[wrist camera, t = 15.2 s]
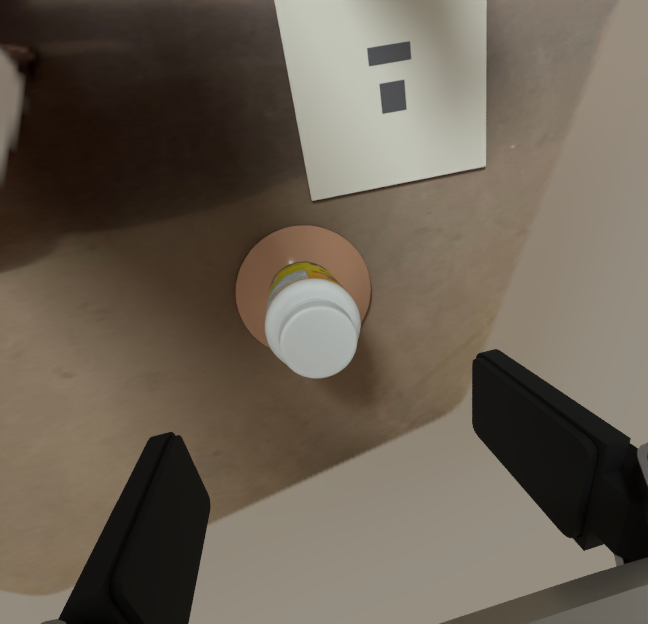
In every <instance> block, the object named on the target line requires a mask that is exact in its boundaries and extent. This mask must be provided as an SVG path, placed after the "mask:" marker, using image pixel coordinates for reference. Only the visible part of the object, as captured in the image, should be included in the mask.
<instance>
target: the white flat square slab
mask: <svg viewBox="0 0 648 624" xmlns="http://www.w3.org/2000/svg"><path fill="white" fill-rule="evenodd" d="M274 3H275V8H276V13H277V19H278V24H279V29H280V35H281V40H282V45H283V51H284V56H285V61H286V67H287V72H288V78H289V83H290V88H291V94H292V99H293V104H294V110H295V115H296V120H297V126H298V131H299V136H300V142H301V147H302V152H303V158H304V163H305V168H306V174H307V179H308V184H309V190H310V195H311V200H312V201H315V200H320V199H325V198H330V197H335V196H340V195H345V194H350V193H355V192H360V191H365V190H370V189H375V188H380V187H385V186H390V185H395V184H400V183H405V182H410V181H415V180H420V179H425V178H430V177H435V176H440V175H445V174H450V173H455V172H460V171H465V170H470V169H475V168H480V167H485V166H486V0H274Z"/></svg>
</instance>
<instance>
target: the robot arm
mask: <svg viewBox="0 0 648 624" xmlns="http://www.w3.org/2000/svg"><path fill="white" fill-rule="evenodd" d="M472 424H473V428H474V431H475V433H476V434H477V435H478V437H479V438H480V439H481V440H482V441H483V442H484V444H485V445H486V446H487V447H488V448H489V449H490V451H491V452H492V453H493V454H494V455H495V456H496V457H497V459H498V460H499V461H500V462H501V463H502V464H503V466H505V468H506V469H507V470H508V471H509V472H510V473H511V475H512V476H513V477H514V478H515V479H516V480H517V482H518V483H519V484H520V485H521V486H522V487H523V488H524V490H525V491H526V492H527V493H528V494H529V495H530V497H531V498H532V499H533V500H534V501H535V502H536V504H537V505H538V506H539V507H540V508H541V509H542V510H543V512H544V513H545V514H546V515H547V516H548V517H549V519H550V520H551V521H552V522H553V523H554V524H555V525H556V526H557V528H558V529H559V530H560V531H561V532H562V533H563V534H564V535H565V536H567V537H569V538H573V539H574V540H575V541H576V542H577V543H578V545H579V546H580V547H581V548H582V549H583V550H584V551H585V550H588V549H591V548H594V547H597V546H600V545H603V544H605V545H606V546H607V547H608V548H609V549H610V550H611V551H612V552H613V553H614V556H615V561H616V566H617V567H614V568H610V569H607V570H604V571H600V572H597V573H594V574H591V575H587V576H584V577H581V578H578V579H575V580H572V581H569V582H566V583H562V584H560V585H556V586H553V587H550V588H547V589H544V590H541V591H538V592H535V593H532V594H529V595H526V596H523V597H519V598H517V599H514V600H510V601H507V602H504V603H501V604H498V605H495V606H492V607H489V608H486V609H483V610H480V611H477V612H474V613H471V614H468V615H464V616H461V617H458V618H455V619H452V620H449V621H446V622H444V623H440V624H648V443H646V444H643V445H641V446H640V448H639V449H638V448H636V447H635V446H633V445H632V444H630V438H629V437H628V436H626V435H625V434H623V433H622V432H620V431H619V430H617V429H616V428H614V427H613V426H611V425H610V424H608V423H607V422H605V421H604V420H602V419H601V418H599V417H598V416H596V415H595V414H593V413H592V412H590V411H589V410H587V409H586V408H584V407H583V406H581V405H580V404H578V403H577V402H575V401H574V400H572V399H571V398H570V397H568V396H567V395H565V394H563V393H562V392H561V391H559V390H558V389H556V388H555V387H553V386H552V385H550V384H549V383H547V382H546V381H544V380H543V379H541V378H539V377H538V376H537V375H535V374H534V373H532V372H531V371H529V370H528V369H526V368H525V367H523V366H522V365H520V364H519V363H517V362H516V361H514V360H513V359H511V358H510V357H508V356H507V355H505V354H504V353H503V352H501V351H499V350H497V349H494V350H490V351H486V352H482V353H479V354H477V356H476V359H474V360H473V363H472ZM209 513H210V498H209V495H208V493H207V491H206V489H205V487H204V484H203V482H202V480H201V478H200V476H199V474H198V471H197V469H196V467H195V465H194V463H193V461H192V458H191V456H190V454H189V452H188V450H187V448H186V445H185V443H184V441H183V439H182V437H181V436H180V435H177V436H175V434H174V433H173V432H169V433H165V434H161V435H157V436H153V437H151V438H150V439H149V440H148V442H147V444H146V446H145V448H144V450H143V452H142V454H141V456H140V458H139V460H138V462H137V464H136V466H135V468H134V470H133V472H132V474H131V476H130V478H129V480H128V482H127V484H126V486H125V488H124V490H123V492H122V494H121V496H120V498H119V500H118V501H117V503H116V505H115V507H114V509H113V511H112V513H111V515H110V517H109V519H108V521H107V523H106V525H105V527H104V529H103V531H102V533H101V535H100V537H99V539H98V541H97V543H96V545H95V547H94V549H93V551H92V553H91V555H90V557H89V559H88V561H87V563H86V565H85V567H84V569H83V571H82V573H81V575H80V577H79V579H78V581H77V583H76V585H75V587H74V589H73V591H72V593H71V595H70V597H69V599H68V601H67V603H66V605H65V607H64V609H63V611H62V613H61V615H60V617H59V619H56V620H51V621H46V622H43V623H41V624H188V623H189V617H190V612H191V606H192V602H193V596H194V591H195V586H196V581H197V575H198V570H199V565H200V560H201V554H202V549H203V544H204V539H205V534H206V528H207V523H208V518H209Z"/></svg>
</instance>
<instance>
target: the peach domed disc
mask: <svg viewBox="0 0 648 624" xmlns="http://www.w3.org/2000/svg"><path fill="white" fill-rule="evenodd" d="M301 261H307V262H313V263H316V264H318V265H320V266H322V267H324V268H325V269H326V270H328V271H329V272H330V273H331V274H332V275H333V277H334V278H335V279H336V280H337V281H338V282H339V283H340V284H341V285H342V286H343V288H344V289H345V290H346V291H347V292H348V293H349V294H350V296H351V297H352V298H353V300H354V301H355V303H356V305H357V307H358V310H359V314H360V319H361V323H362V321H363V319H364V317H365V315H366V312H367V309H368V306H369V302H370V294H371V285H370V278H369V273H368V270H367V267H366V264H365V262H364V261H363V259H362V257H361V255H360V254H359V252H358V251H357V250H356V249H355V248H354V247H353V245H352V244H351V243H349V242H348V241H347V240H346V239H345V238H343V237H341V236H340V235H338V234H337V233H335V232H332V231H330V230H328V229H325V228H321V227H318V226H311V225H297V226H290V227H286V228H283V229H280V230H277V231H275V232H273V233H271V234H269V235H268V236H266V237H264V238H263V239H262V240H261V241H259V242H258V243H257V244H256V245H255V246H254V247H253V248H252V249H251V251H250V252H249V254H248V255H247V256H246V258H245V260H244V262H243V264H242V266H241V268H240V271H239V273H238V277H237V282H236V303H237V307H238V311H239V314H240V316H241V319H242V321H243V322H244V324H245V326H246V327H247V329H248V330H249V331H250V333H251V334H252V335H253V336H254V337H255V338H256V339H257V340H258V341H260V342H261V343H262V344H264V345H265V346H267V347H269V348H270V346H269V344H268V342H267V338H266V334H265V317H266V309H267V301H268V294H269V288H270V285H271V282H272V280H273V279H274V277H275V276H276V274H277V273H278V272H279V271H280V270H281V269H283V268H284V267H286V266H287V265H289V264H292V263H295V262H301ZM270 349H271V348H270Z"/></svg>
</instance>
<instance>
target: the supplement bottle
mask: <svg viewBox="0 0 648 624" xmlns="http://www.w3.org/2000/svg"><path fill="white" fill-rule="evenodd" d="M360 328H361V319H360V314H359V310H358V307H357V305H356V303H355V301H354V300H353V298H352V297H351V296H350V294H349V293H348V292H347V291H346V290H345V289H344V288H343V286H342V285H341V284H340V283H339V282H338V281H337V280H336V279H335V278H334V277H333V275H332V274H331V273H330V272H329V271H328V270H326V269H325V268H324V267H322V266H320V265H318V264H316V263H313V262H307V261H301V262H295V263H292V264H289V265H287V266H286V267H284V268H283V269H281V270H280V271H279V272H278V273H277V274H276V276H275V277H274V279H273V280H272V282H271V285H270V288H269V294H268V301H267V309H266V317H265V334H266V338H267V342H268V344H269V346H270V348H271V350H272V351H273V353H274V354H275V355H276V356H277V357H278V358H279V359H280V360H281V361H282V362H284V363H285V364H287V365H288V367H289V368H290V369H292V370H293V371H294V372H296V373H297V374H299V375H301V376H304V377H308V378H317V379H318V378H326V377H329V376H332V375H334V374H336V373H338V372H340V371H341V370H342V369H344V368H345V367H346V366H347V365H348V364H349V363H350V361H351V360H352V358H353V356H354V354H355V352H356V348H357V341H358V338H359V334H360Z"/></svg>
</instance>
